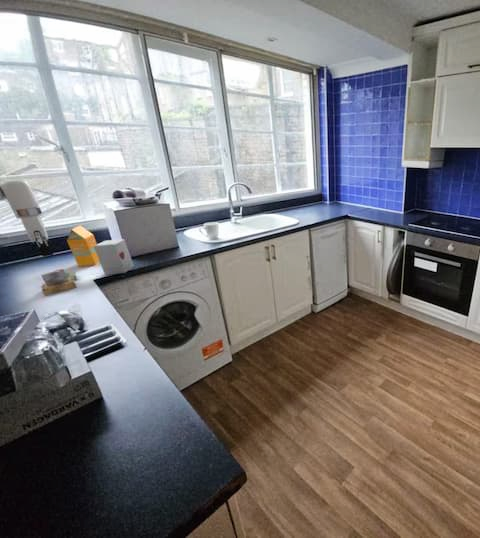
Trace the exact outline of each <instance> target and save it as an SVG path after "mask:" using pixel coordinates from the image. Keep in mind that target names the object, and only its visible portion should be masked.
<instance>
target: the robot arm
mask: <svg viewBox="0 0 480 538" xmlns="http://www.w3.org/2000/svg"><path fill="white" fill-rule="evenodd" d="M2 201H7V203H8V204H9V206H10V208H11V210H12V212H13V214H14V216H15V218H16V219H20V220H21V223H22V226H23V228H24V230H25V232H26V234H27V236H28V238H29V239H30V243H35V242H36V244H37V248H38V250H39V252H40V253H41V256H42V257H49V256H53V255H54V252H53V250H54V248H53V246H52V244H51V241H50V240H49V235H48V232H47V229H46V226H45V224H44V222H43V220H42V217H41V216H43V215H44V213H43V210H42V209H41V207H40V204H39V202H38V200H37V198H36V196H35V194H34V191H33V190H32V188H31V186H30V184H29V182H28V181H27V180H25V179H12V180H4V181H3V180H2V181H1V180H0V202H2Z"/></svg>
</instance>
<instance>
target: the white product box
mask: <svg viewBox="0 0 480 538" xmlns="http://www.w3.org/2000/svg"><path fill="white" fill-rule="evenodd" d="M94 248H95V251H96V253H97V256H98V258H99V261H100V262H99V263H100V266H101V269H102V270H103V273H104V276H105V275H106V276H107V275H118V274H120V275H121V274H125V273H127V272H128V271H130V270H131V269H133V268H134V267H135V266H134V262H133V259H132V257H131V254H130V251H129V249H128V246H127V243H126V240H125V239H124V238H123V239H121V238H120V239H109V240H108V239H107V240H103V241H102V242H99V243H97V245H95V246H94Z"/></svg>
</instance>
